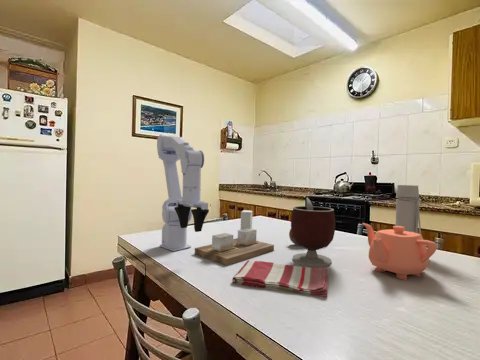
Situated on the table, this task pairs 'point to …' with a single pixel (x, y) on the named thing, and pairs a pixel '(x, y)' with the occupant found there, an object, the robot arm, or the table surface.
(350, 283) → the table surface
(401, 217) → the water bottle
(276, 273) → the dish towel
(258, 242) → the board
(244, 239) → the block
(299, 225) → the mate gourd
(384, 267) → the teapot
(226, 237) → the block
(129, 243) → the table surface
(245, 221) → the skincare box
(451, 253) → the table surface
